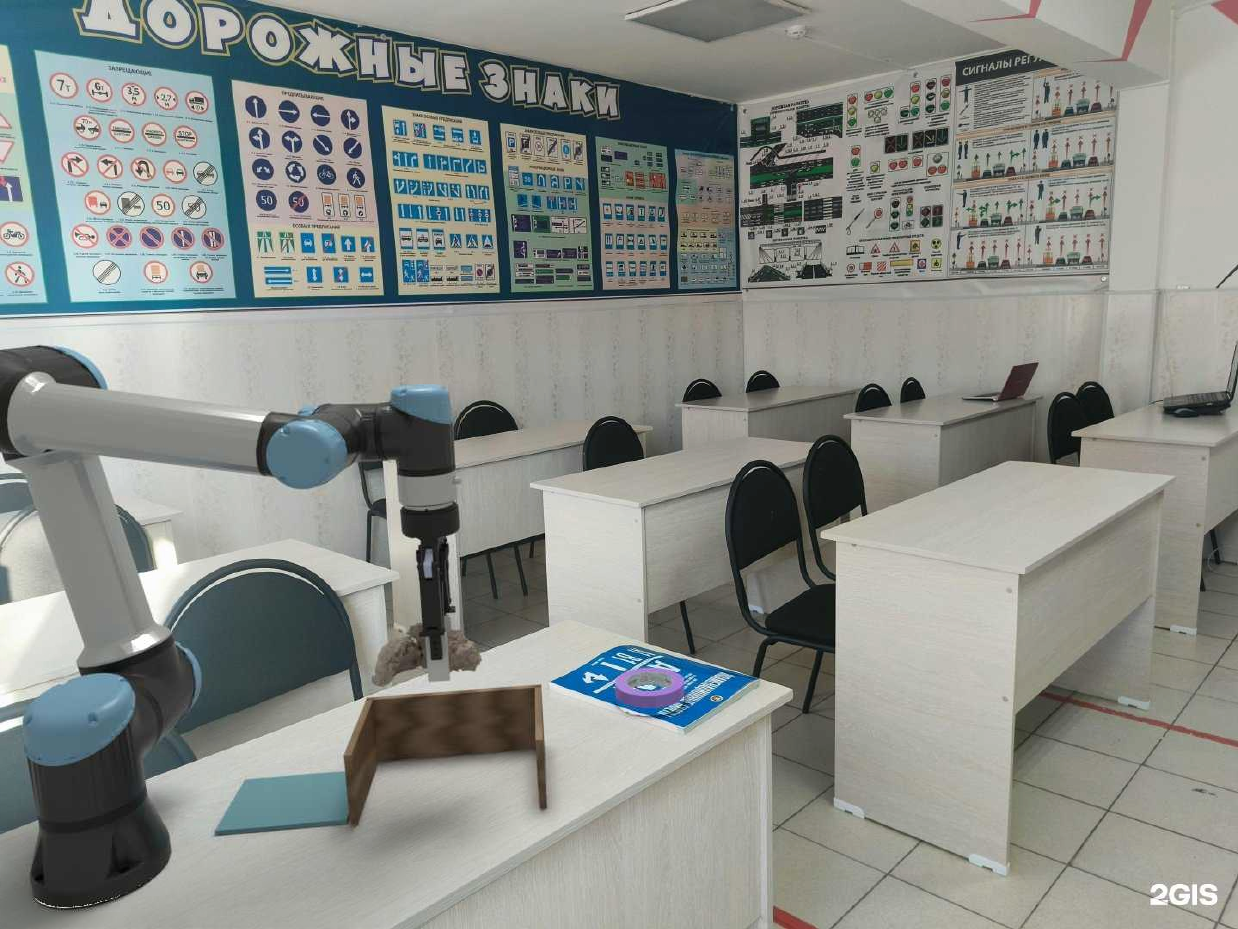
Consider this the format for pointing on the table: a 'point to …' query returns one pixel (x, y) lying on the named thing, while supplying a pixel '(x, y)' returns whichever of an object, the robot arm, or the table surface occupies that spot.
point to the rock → (423, 655)
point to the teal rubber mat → (287, 803)
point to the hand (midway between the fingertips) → (441, 670)
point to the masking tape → (649, 677)
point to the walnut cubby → (443, 732)
